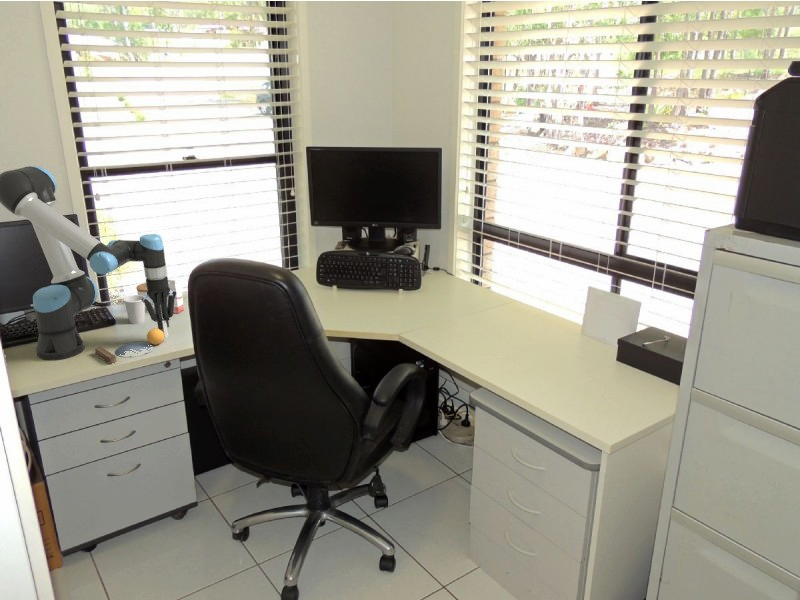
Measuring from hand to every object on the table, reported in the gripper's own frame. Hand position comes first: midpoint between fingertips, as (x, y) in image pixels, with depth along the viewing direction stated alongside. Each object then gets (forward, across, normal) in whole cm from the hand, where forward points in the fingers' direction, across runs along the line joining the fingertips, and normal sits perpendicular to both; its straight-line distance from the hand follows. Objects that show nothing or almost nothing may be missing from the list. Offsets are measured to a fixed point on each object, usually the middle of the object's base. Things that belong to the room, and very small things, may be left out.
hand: (164, 336), depth 234 cm
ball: (-1, +4, 0) cm, 4 cm away
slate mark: (+2, +12, 0) cm, 12 cm away
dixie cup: (+2, -2, -26) cm, 27 cm away
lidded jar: (+2, -17, -43) cm, 47 cm away
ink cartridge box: (+2, -18, -27) cm, 33 cm away
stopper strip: (+1, +22, 0) cm, 22 cm away
